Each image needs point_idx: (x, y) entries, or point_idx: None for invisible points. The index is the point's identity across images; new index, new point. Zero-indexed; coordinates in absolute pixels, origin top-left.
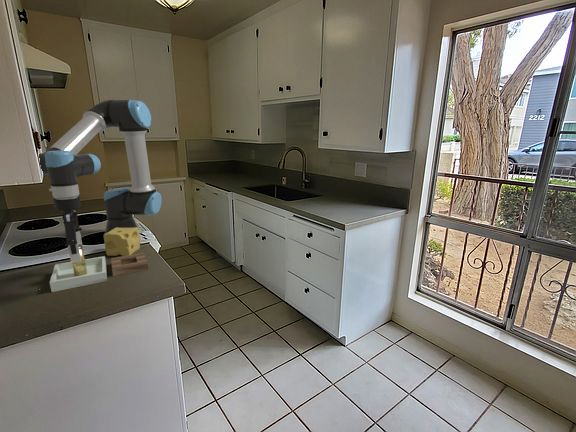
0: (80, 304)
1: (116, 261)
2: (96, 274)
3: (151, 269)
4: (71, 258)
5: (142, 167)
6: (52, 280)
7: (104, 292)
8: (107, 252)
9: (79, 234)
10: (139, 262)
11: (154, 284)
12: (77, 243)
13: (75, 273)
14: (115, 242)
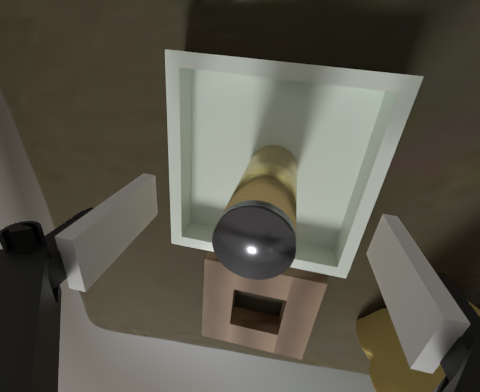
0: (59, 136)
1: (278, 287)
2: (172, 216)
3: None
4: (129, 188)
5: None
6: (184, 62)
7: None
8: None
9: (403, 339)
10: (223, 326)
11: (111, 296)
12: (74, 288)
13: (256, 154)
14: None
